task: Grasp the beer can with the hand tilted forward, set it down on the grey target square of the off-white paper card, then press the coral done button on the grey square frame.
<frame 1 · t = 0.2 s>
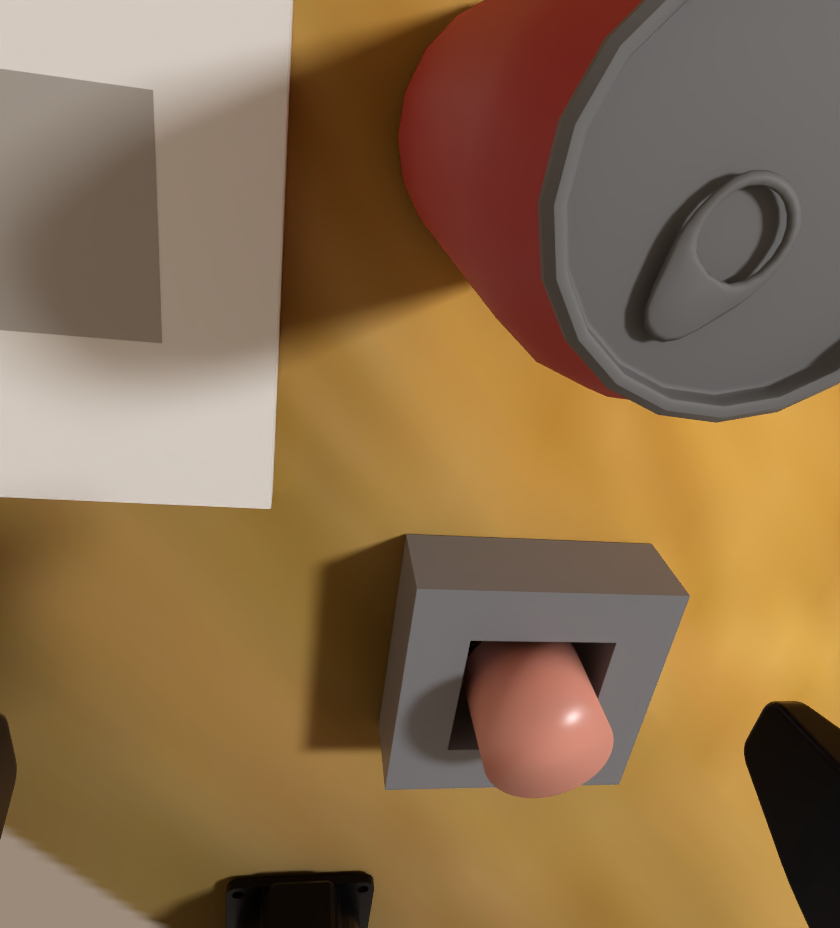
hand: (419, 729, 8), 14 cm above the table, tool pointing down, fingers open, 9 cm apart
done button: (533, 709, 24), point 3 cm above the table, slide at 0.0 cm
beer can: (517, 139, 19), on the table
paper card: (47, 244, 19), on the table
grey square frame: (508, 638, 27), on the table
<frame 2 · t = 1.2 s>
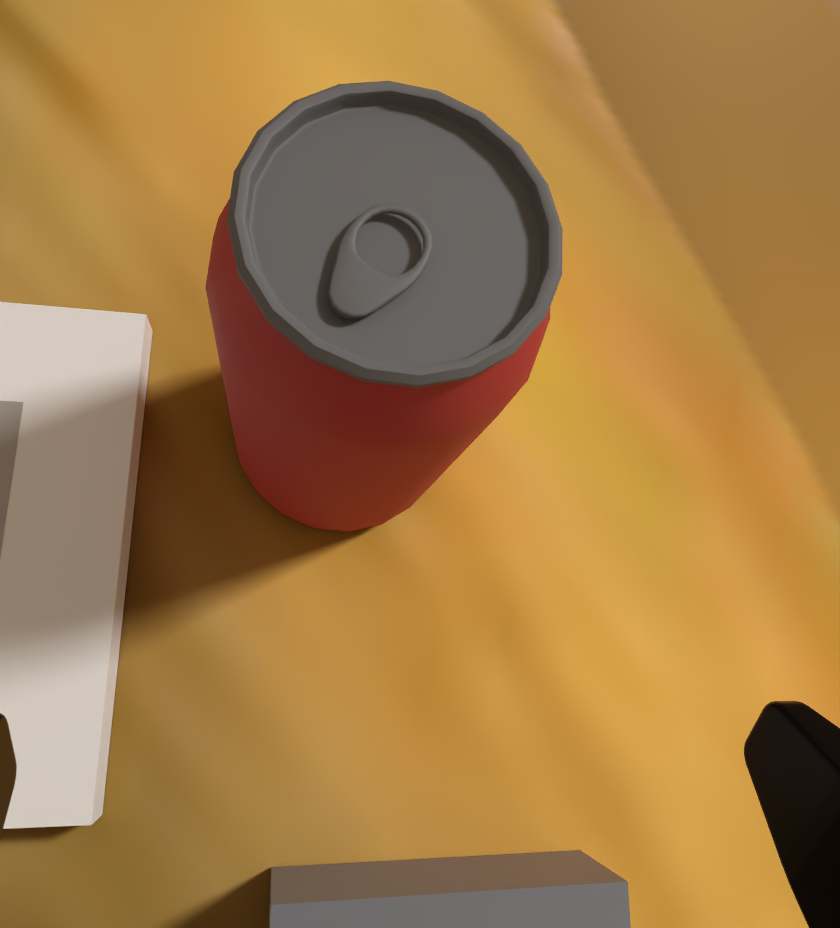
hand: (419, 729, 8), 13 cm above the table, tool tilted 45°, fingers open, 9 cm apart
beer can: (339, 435, 23), on the table
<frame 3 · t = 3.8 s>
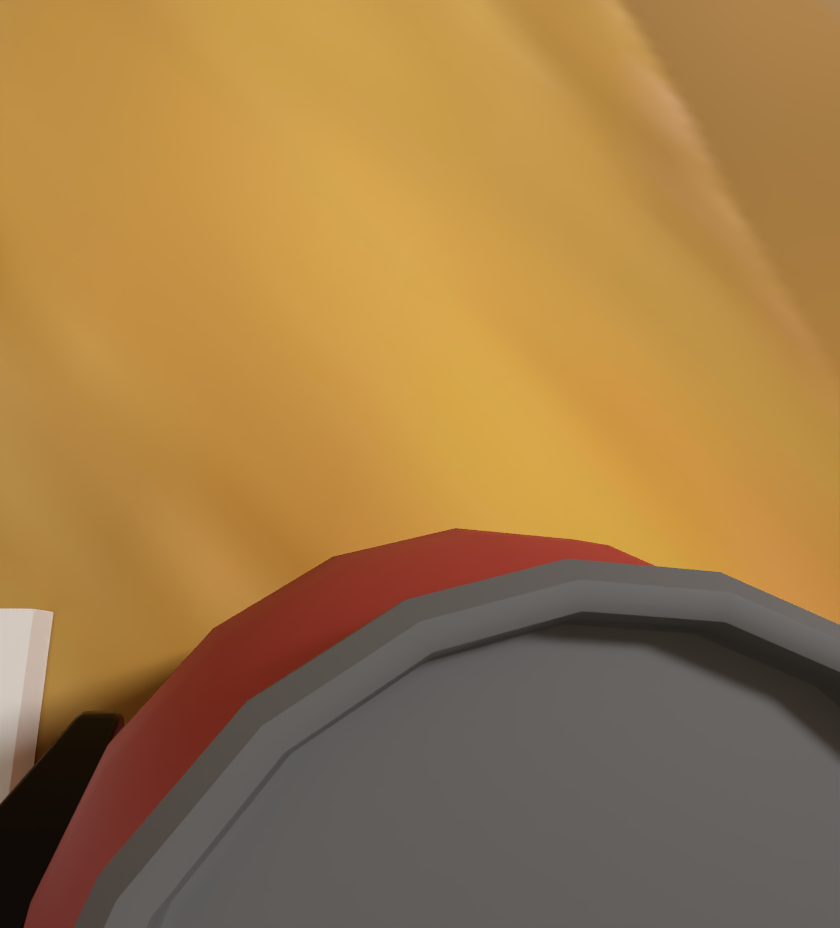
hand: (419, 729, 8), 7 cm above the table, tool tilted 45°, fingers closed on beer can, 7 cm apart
beer can: (354, 766, 15), on the table, touching gripper
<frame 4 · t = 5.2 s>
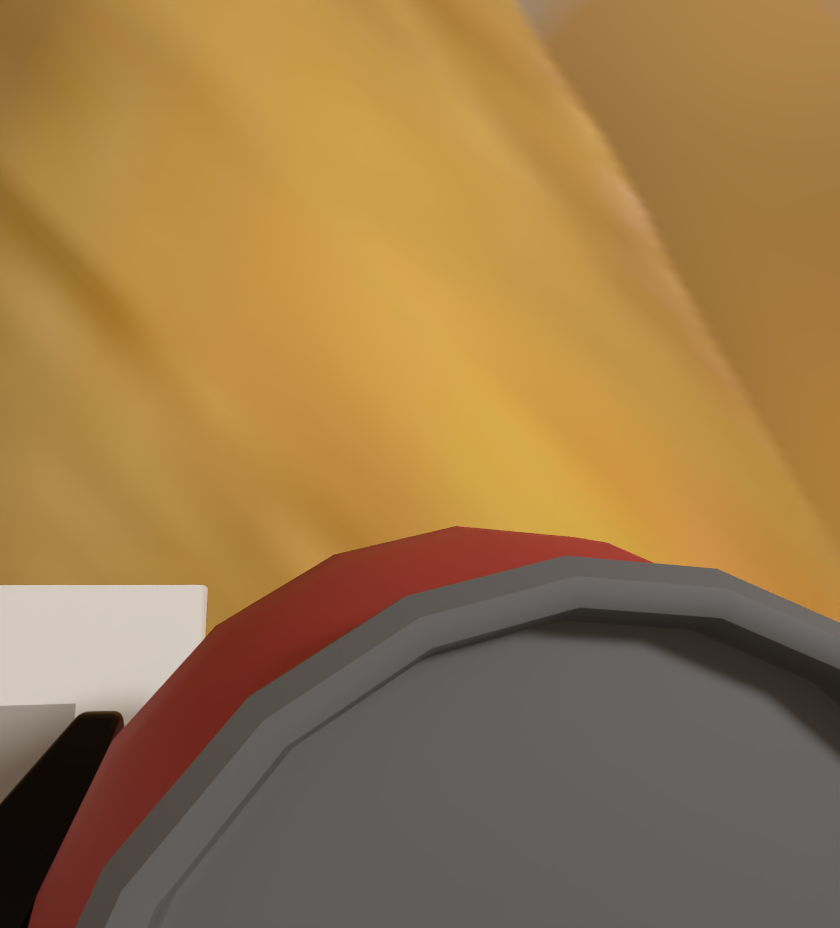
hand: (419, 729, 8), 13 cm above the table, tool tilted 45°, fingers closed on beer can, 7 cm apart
beer can: (357, 763, 15), point 6 cm above the table, touching gripper
when the fingers open (9 cm above the table, at t = 7.1 s): beer can stays where it is, resting on paper card.
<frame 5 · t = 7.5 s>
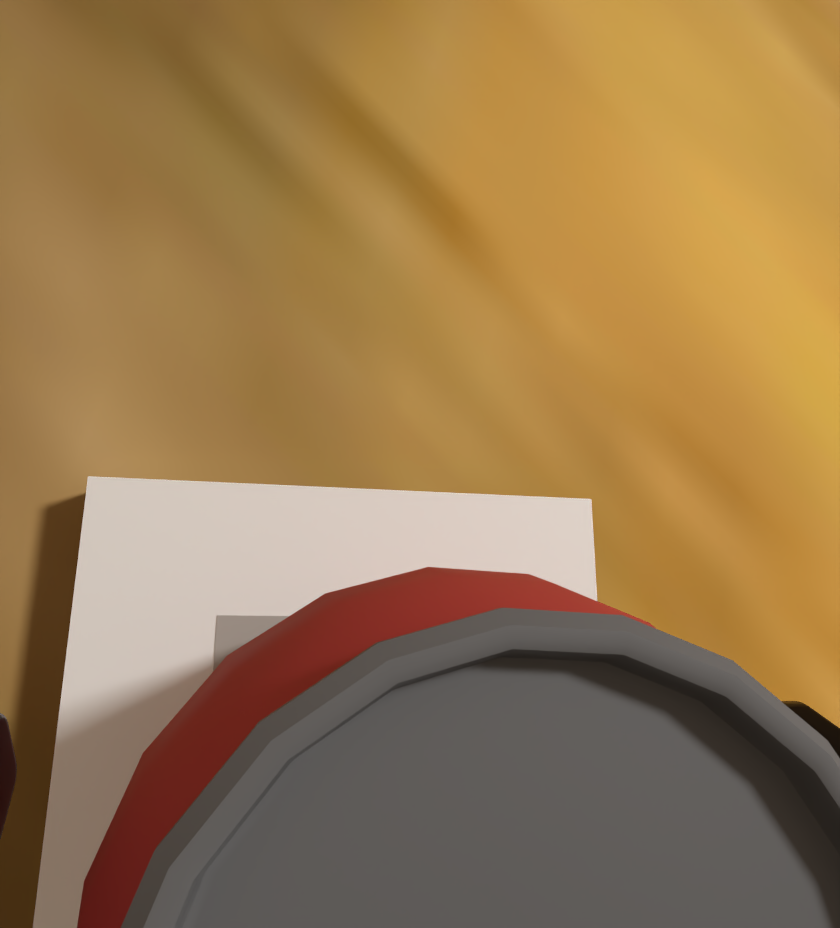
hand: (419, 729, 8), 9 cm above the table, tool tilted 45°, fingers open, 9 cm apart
beer can: (351, 765, 16), point 1 cm above the table, touching paper card
paper card: (342, 796, 16), on the table
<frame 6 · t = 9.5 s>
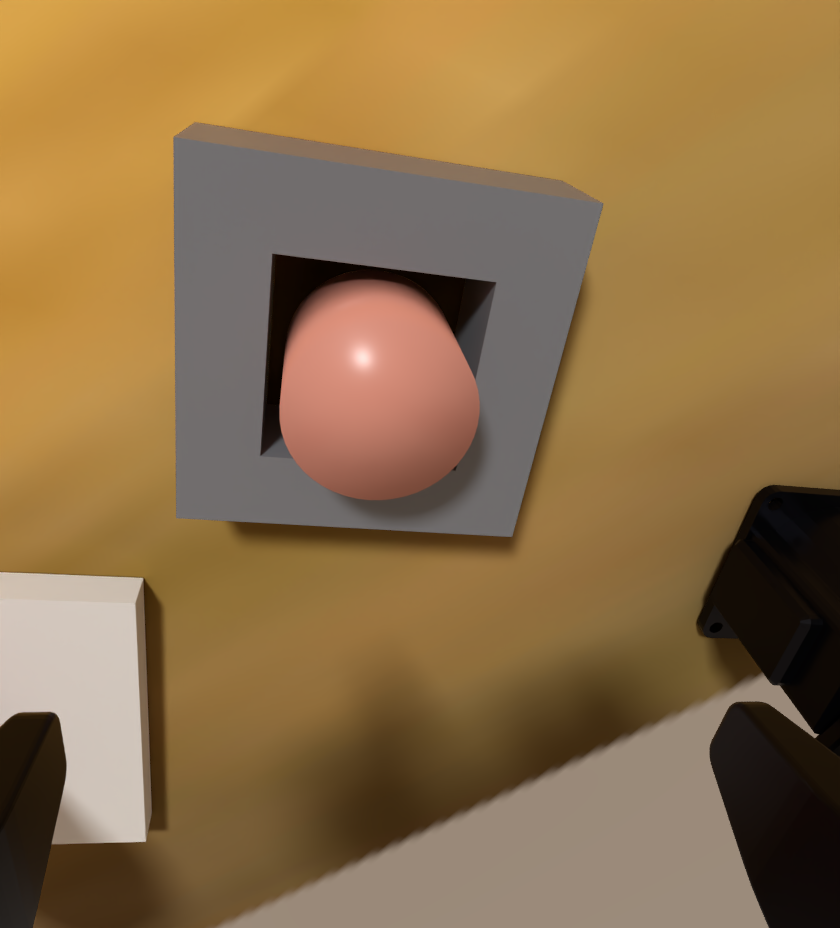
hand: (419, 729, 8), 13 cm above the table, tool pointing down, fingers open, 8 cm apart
done button: (374, 381, 16), point 4 cm above the table, slide at 0.0 cm
grey square frame: (365, 329, 19), on the table
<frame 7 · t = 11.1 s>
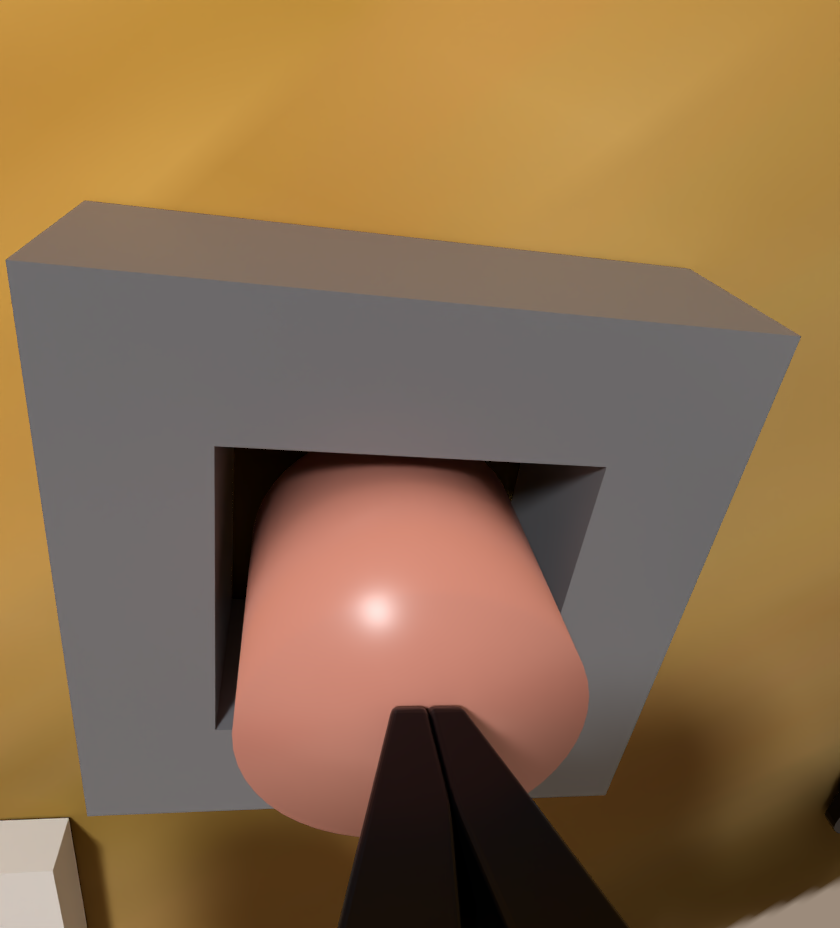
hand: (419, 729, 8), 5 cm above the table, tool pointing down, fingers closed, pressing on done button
done button: (398, 623, 10), point 3 cm above the table, slide at 0.2 cm, touching gripper
grey square frame: (377, 493, 13), on the table
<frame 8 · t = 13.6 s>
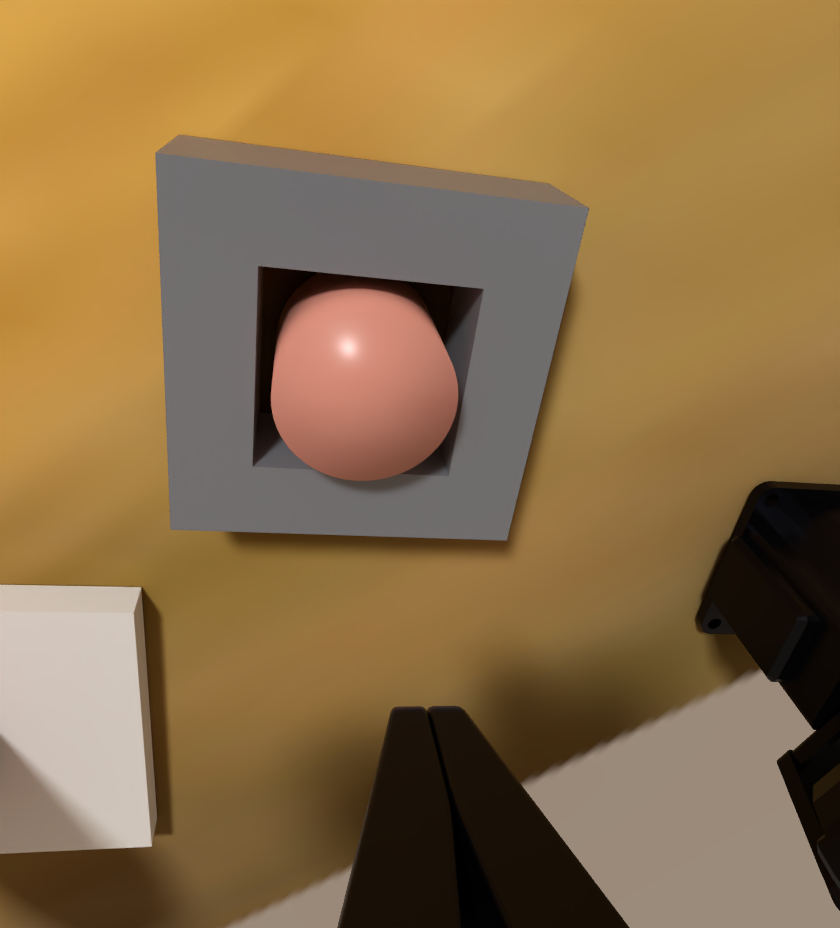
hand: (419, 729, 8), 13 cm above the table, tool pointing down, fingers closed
done button: (360, 369, 18), point 2 cm above the table, slide at 1.2 cm
grey square frame: (355, 336, 19), on the table
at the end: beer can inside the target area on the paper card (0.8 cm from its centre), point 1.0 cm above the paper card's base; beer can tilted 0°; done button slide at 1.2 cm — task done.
